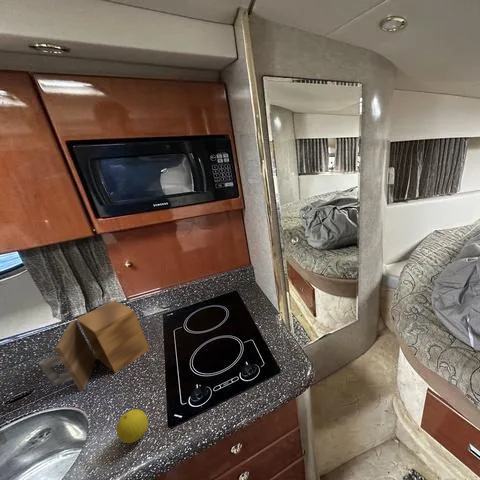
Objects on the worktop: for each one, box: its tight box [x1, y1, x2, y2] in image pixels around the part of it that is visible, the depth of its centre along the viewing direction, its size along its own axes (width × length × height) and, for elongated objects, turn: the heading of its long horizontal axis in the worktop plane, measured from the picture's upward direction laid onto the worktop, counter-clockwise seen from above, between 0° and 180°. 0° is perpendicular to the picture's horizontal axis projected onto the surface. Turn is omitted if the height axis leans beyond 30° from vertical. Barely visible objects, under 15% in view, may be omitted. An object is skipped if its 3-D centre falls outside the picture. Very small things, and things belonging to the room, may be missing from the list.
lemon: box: [116, 408, 149, 444], centre depth 56 cm, size 6×6×8 cm
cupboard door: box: [38, 319, 97, 392], centre depth 70 cm, size 6×12×16 cm, turn 28°
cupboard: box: [76, 299, 151, 374], centre depth 78 cm, size 10×12×16 cm
